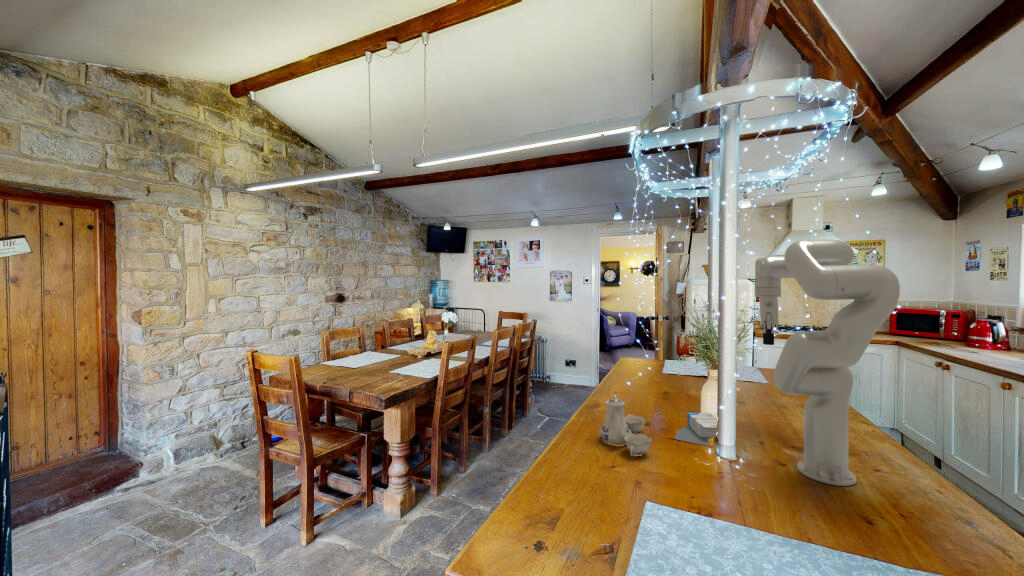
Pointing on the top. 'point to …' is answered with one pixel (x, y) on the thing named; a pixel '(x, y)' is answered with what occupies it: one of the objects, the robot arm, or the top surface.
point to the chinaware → (624, 428)
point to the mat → (690, 436)
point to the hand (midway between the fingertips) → (768, 344)
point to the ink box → (703, 424)
